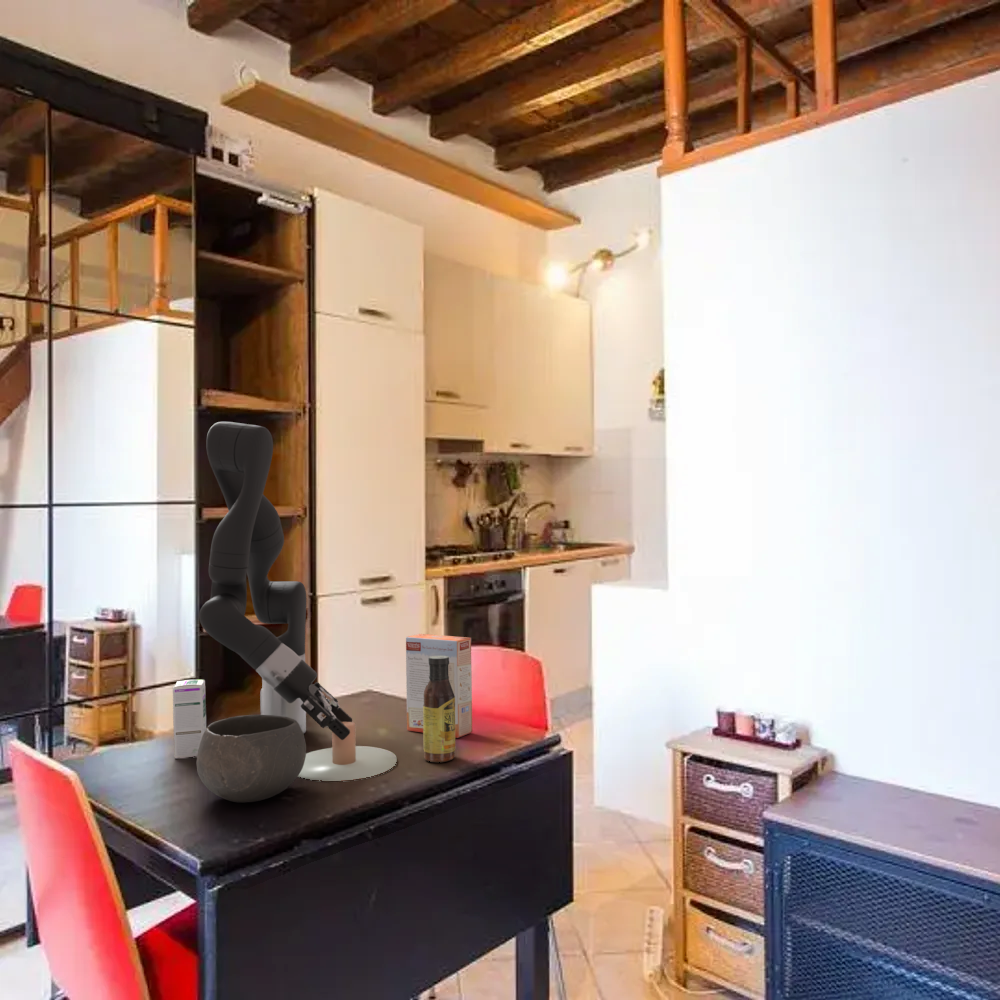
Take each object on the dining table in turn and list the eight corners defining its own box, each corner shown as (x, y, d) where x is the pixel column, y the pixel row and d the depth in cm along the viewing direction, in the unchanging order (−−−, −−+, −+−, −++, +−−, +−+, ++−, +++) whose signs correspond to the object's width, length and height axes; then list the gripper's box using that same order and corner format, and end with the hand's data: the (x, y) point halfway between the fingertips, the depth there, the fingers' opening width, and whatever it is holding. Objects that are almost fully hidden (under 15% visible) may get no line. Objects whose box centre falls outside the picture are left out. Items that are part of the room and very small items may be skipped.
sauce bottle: (450, 764, 160) (449, 660, 160) (419, 763, 161) (418, 659, 161) (459, 754, 166) (458, 654, 166) (429, 753, 167) (427, 653, 168)
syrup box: (204, 756, 167) (203, 683, 167) (172, 759, 166) (172, 685, 166) (207, 748, 173) (206, 678, 173) (176, 751, 171) (175, 680, 171)
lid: (269, 769, 159) (268, 727, 159) (350, 745, 175) (350, 706, 175) (336, 791, 147) (336, 745, 147) (418, 763, 162) (417, 721, 162)
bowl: (173, 808, 138) (172, 732, 138) (242, 775, 155) (242, 706, 155) (264, 821, 132) (263, 741, 132) (326, 785, 149) (325, 714, 149)
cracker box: (473, 732, 182) (472, 636, 182) (457, 739, 177) (456, 640, 177) (422, 724, 190) (421, 632, 190) (405, 730, 184) (404, 635, 185)
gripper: (296, 665, 153) (360, 725, 154) (304, 651, 167) (363, 706, 168) (266, 695, 152) (331, 755, 154) (277, 679, 166) (336, 734, 168)
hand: (348, 730), depth 161 cm, fingers open, 8 cm apart
